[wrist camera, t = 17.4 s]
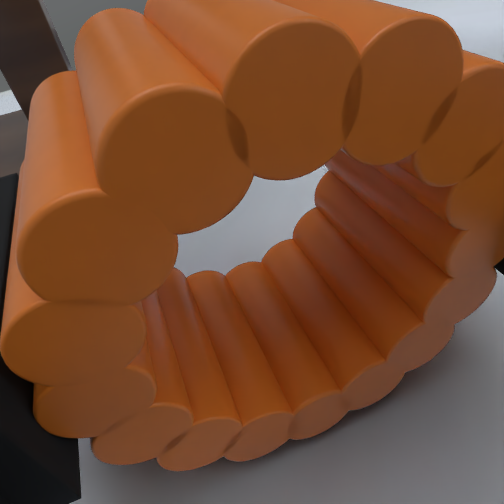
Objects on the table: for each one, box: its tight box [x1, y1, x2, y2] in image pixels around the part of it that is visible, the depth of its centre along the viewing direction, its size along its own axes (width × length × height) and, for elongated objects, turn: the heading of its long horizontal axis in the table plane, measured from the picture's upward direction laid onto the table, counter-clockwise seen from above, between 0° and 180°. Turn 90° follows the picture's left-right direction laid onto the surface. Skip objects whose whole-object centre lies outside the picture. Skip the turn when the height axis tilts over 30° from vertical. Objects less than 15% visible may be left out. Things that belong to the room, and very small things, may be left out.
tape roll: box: [0, 0, 504, 471], centre depth 9 cm, size 9×5×9 cm, turn 111°
